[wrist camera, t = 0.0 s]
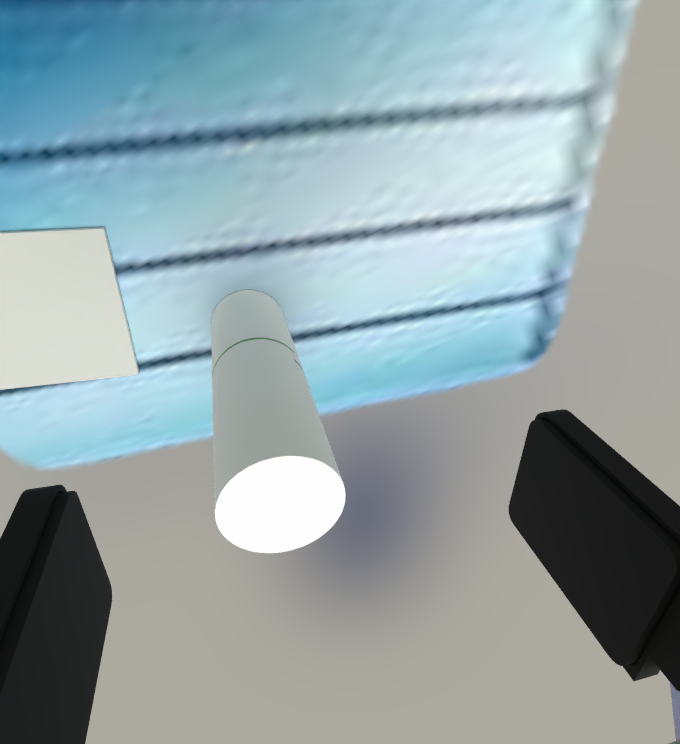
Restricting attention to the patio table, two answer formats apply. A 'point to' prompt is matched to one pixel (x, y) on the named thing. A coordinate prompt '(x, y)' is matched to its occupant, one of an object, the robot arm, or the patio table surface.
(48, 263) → the mat
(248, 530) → the cylindrical container
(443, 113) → the patio table surface
